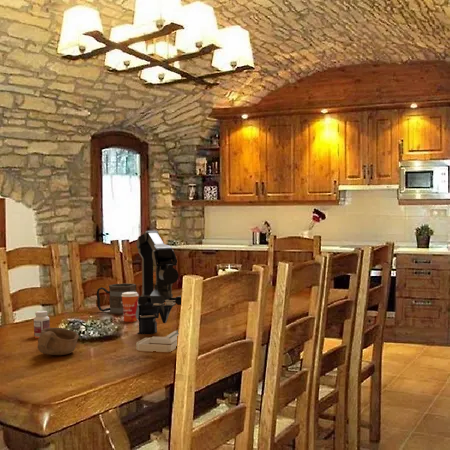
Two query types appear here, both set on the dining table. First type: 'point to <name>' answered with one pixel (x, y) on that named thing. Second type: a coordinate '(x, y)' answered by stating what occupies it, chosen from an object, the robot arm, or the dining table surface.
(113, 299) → the mug
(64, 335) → the bowl
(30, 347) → the dining table surface
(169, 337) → the grey lever handle
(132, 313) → the paper cup
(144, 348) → the beige square tray
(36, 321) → the pill bottle
